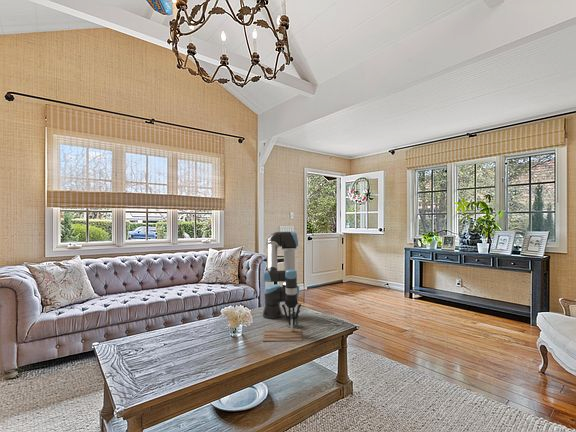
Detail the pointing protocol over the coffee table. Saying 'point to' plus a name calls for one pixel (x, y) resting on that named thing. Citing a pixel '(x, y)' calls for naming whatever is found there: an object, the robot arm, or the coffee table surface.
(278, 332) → the plank
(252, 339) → the coffee table surface
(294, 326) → the figurine
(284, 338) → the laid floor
